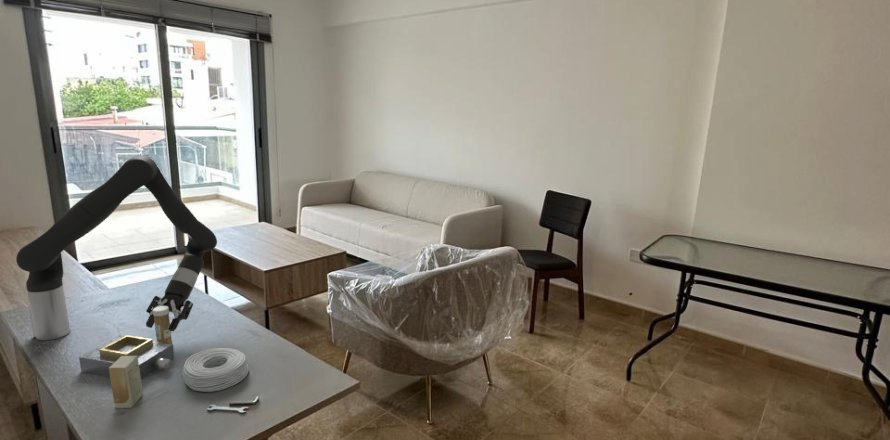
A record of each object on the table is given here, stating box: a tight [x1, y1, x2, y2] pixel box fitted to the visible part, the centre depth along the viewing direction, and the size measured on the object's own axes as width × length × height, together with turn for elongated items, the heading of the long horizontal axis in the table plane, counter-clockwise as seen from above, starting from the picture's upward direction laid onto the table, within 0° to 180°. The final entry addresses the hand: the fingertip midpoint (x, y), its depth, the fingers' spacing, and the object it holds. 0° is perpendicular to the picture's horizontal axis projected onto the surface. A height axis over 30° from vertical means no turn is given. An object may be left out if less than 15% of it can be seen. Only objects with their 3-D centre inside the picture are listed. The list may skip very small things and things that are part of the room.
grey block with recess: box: [78, 334, 175, 381], centre depth 145 cm, size 24×14×7 cm, turn 78°
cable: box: [180, 347, 249, 393], centre depth 141 cm, size 18×18×6 cm
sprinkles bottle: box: [152, 306, 174, 345], centre depth 157 cm, size 5×5×13 cm
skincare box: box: [109, 356, 144, 409], centre depth 128 cm, size 6×4×12 cm
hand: (159, 328), depth 156 cm, fingers open, 8 cm apart
